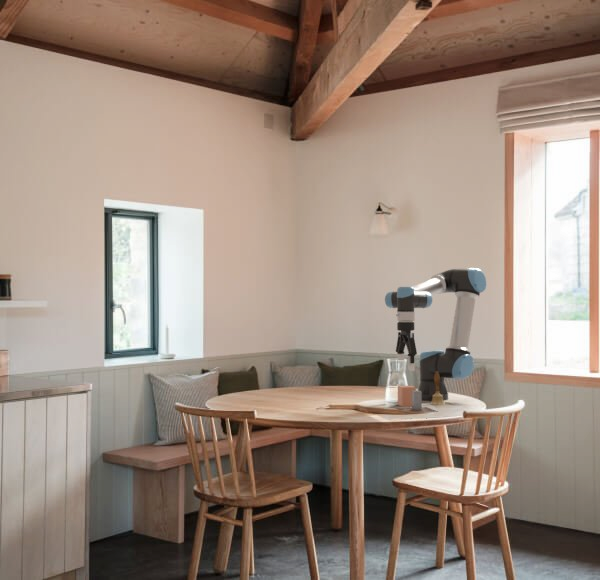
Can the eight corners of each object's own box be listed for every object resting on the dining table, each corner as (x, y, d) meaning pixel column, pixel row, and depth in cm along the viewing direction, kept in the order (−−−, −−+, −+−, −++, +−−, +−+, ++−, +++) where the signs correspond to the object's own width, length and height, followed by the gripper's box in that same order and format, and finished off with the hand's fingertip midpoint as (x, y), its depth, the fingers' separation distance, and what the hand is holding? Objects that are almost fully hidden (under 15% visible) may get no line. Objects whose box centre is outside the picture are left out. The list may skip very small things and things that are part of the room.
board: (426, 410, 342) (426, 407, 342) (438, 415, 328) (438, 411, 328) (395, 411, 339) (395, 408, 339) (406, 416, 325) (406, 412, 325)
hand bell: (432, 408, 348) (431, 372, 348) (425, 406, 356) (425, 370, 356) (450, 408, 349) (449, 372, 349) (443, 405, 357) (442, 370, 358)
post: (419, 409, 335) (418, 390, 336) (421, 410, 332) (421, 391, 332) (411, 409, 335) (411, 390, 335) (414, 410, 332) (414, 391, 332)
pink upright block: (411, 407, 352) (410, 385, 352) (415, 409, 346) (415, 387, 346) (397, 408, 351) (397, 386, 351) (402, 409, 345) (402, 387, 345)
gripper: (388, 321, 360) (388, 367, 360) (407, 322, 336) (407, 372, 335) (404, 320, 362) (404, 367, 361) (424, 322, 337) (424, 371, 337)
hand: (406, 369), depth 348 cm, fingers open, 13 cm apart
